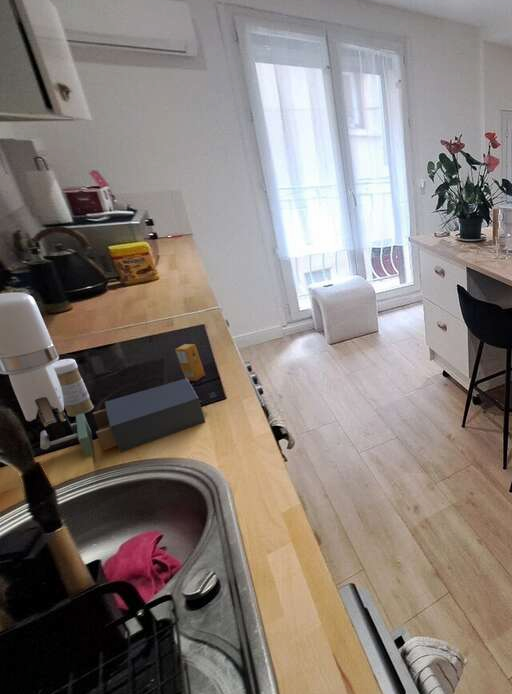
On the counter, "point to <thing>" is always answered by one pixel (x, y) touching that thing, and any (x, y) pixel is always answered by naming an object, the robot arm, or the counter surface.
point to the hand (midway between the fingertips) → (62, 437)
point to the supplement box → (190, 362)
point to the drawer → (86, 434)
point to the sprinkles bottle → (72, 388)
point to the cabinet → (153, 413)
